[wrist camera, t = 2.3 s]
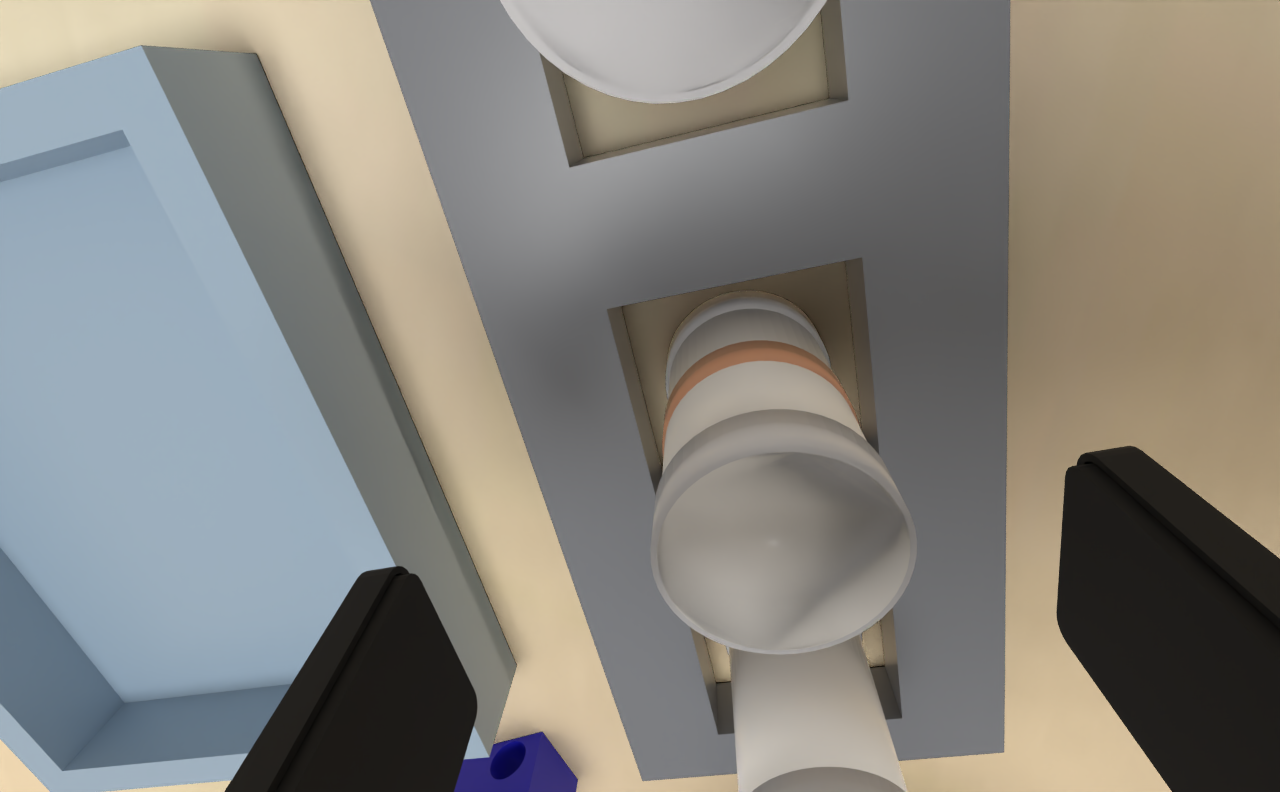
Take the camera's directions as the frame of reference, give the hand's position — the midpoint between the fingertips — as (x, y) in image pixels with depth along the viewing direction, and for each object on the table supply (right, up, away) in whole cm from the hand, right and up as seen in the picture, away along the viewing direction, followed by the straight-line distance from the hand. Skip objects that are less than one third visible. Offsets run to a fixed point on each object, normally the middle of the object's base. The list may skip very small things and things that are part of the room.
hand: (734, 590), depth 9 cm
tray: (-16, +1, +11) cm, 19 cm away
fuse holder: (+1, +4, +8) cm, 9 cm away
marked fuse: (+1, +4, +8) cm, 9 cm away
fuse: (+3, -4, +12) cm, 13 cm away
